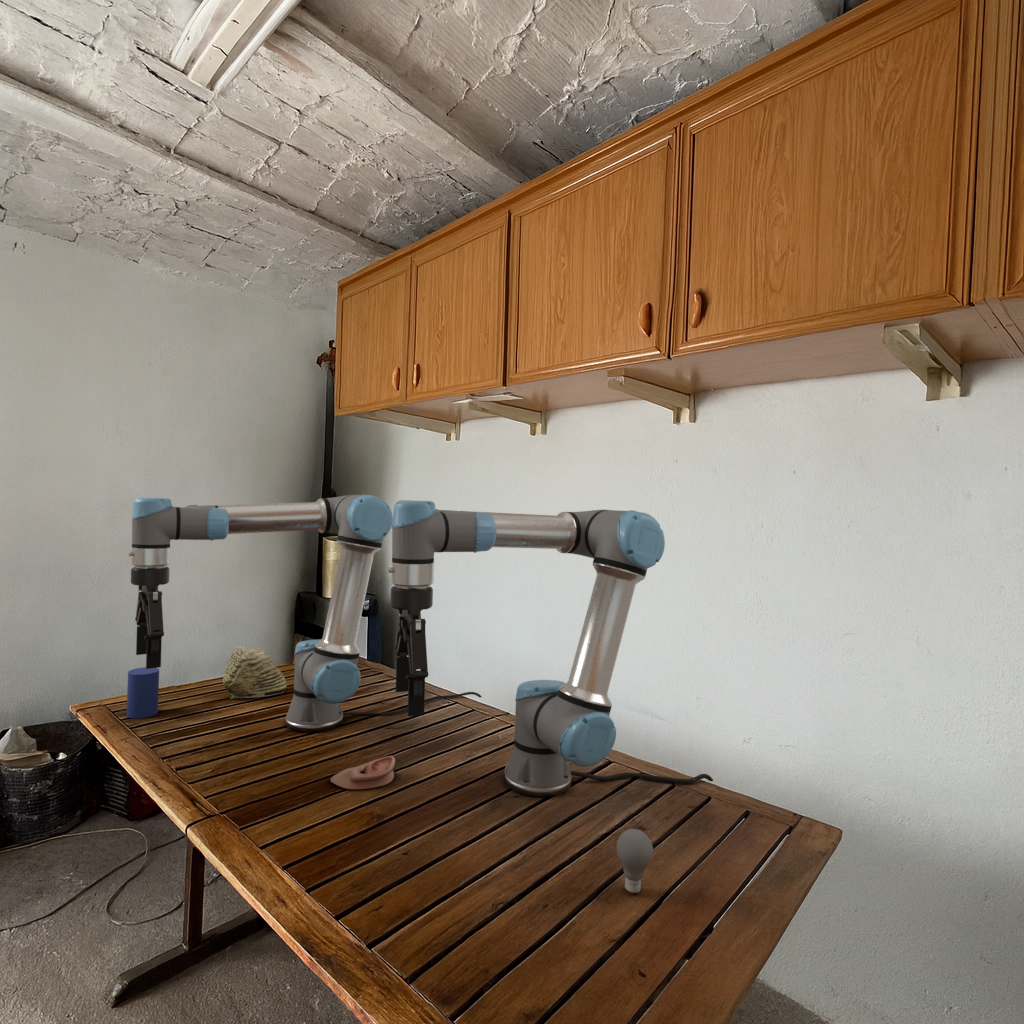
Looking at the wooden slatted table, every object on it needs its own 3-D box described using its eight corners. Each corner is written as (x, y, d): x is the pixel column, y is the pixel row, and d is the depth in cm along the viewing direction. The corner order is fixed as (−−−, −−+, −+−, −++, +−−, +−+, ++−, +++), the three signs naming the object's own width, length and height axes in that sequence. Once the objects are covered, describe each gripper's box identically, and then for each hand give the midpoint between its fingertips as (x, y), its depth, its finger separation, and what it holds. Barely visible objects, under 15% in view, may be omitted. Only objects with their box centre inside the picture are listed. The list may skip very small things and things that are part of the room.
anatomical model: (324, 767, 138) (348, 748, 150) (323, 785, 138) (347, 764, 150) (381, 775, 136) (401, 755, 147) (380, 794, 136) (400, 772, 147)
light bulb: (610, 879, 108) (613, 822, 108) (644, 879, 109) (647, 822, 109) (619, 902, 102) (622, 840, 102) (655, 901, 103) (658, 840, 103)
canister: (139, 708, 182) (141, 666, 182) (163, 710, 181) (165, 668, 180) (119, 717, 174) (121, 673, 174) (144, 719, 173) (146, 675, 173)
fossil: (218, 695, 195) (220, 647, 195) (278, 685, 208) (279, 640, 207) (228, 703, 189) (230, 653, 188) (289, 692, 201) (290, 645, 201)
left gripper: (123, 561, 149) (120, 650, 150) (140, 573, 130) (137, 676, 130) (159, 560, 154) (156, 647, 154) (180, 572, 134) (178, 671, 135)
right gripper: (382, 576, 125) (379, 683, 125) (402, 597, 101) (398, 728, 102) (419, 576, 127) (417, 681, 128) (448, 596, 104) (444, 724, 104)
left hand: (148, 660), depth 142 cm, fingers open, 13 cm apart
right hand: (409, 702), depth 115 cm, fingers open, 13 cm apart
